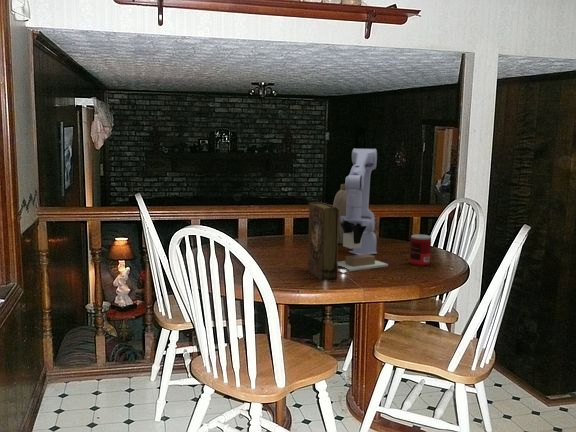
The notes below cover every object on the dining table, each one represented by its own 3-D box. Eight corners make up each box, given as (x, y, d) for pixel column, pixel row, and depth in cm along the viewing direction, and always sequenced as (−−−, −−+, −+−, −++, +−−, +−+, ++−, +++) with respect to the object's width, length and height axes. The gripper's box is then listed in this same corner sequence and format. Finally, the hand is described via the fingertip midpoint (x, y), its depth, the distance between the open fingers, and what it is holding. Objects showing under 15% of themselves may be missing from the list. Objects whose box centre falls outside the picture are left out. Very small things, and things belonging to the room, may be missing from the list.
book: (306, 269, 203) (308, 202, 200) (320, 269, 205) (322, 202, 201) (322, 281, 188) (323, 208, 184) (337, 280, 189) (339, 207, 186)
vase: (332, 238, 268) (333, 182, 264) (368, 239, 266) (369, 183, 262) (330, 245, 251) (331, 186, 247) (368, 246, 249) (370, 186, 245)
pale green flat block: (369, 260, 221) (369, 250, 220) (388, 266, 210) (388, 256, 210) (331, 264, 212) (331, 254, 212) (349, 271, 202) (349, 261, 201)
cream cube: (353, 245, 213) (354, 232, 212) (361, 247, 209) (361, 234, 208) (342, 246, 211) (343, 233, 210) (350, 248, 207) (350, 235, 206)
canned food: (430, 262, 218) (432, 235, 216) (429, 266, 210) (430, 238, 209) (411, 260, 220) (412, 233, 219) (408, 265, 213) (409, 237, 211)
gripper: (334, 205, 212) (333, 239, 214) (356, 209, 200) (355, 246, 201) (349, 204, 216) (348, 238, 217) (372, 208, 203) (370, 244, 205)
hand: (352, 242), depth 210 cm, fingers closed on cream cube, 5 cm apart
